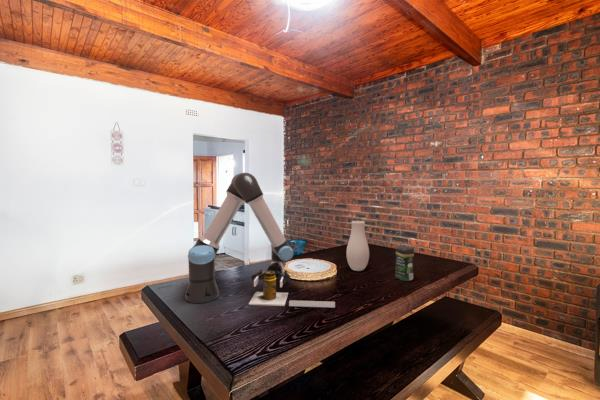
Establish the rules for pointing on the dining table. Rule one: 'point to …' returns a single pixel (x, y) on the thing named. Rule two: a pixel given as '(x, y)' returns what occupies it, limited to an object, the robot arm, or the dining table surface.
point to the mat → (276, 302)
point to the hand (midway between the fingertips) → (267, 284)
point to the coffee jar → (404, 263)
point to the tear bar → (311, 303)
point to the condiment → (269, 287)
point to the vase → (357, 247)
